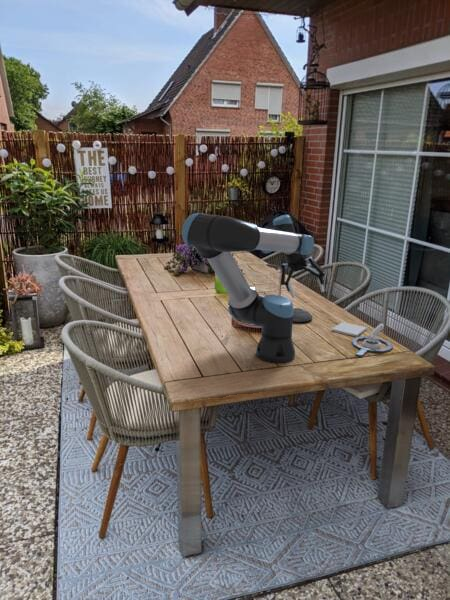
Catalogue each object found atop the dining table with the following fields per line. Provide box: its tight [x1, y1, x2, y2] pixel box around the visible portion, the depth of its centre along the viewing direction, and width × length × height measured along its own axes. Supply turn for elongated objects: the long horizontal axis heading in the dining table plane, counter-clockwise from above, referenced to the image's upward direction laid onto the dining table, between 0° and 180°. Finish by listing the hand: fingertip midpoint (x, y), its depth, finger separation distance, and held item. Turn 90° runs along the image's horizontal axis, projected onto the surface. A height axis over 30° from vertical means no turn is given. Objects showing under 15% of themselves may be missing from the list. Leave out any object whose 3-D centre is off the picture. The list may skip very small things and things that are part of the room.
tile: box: [331, 321, 368, 338], centre depth 203 cm, size 12×12×1 cm
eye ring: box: [351, 335, 394, 358], centre depth 184 cm, size 23×16×1 cm
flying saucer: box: [293, 307, 313, 323], centre depth 218 cm, size 15×15×6 cm
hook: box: [361, 323, 385, 349], centre depth 186 cm, size 8×12×7 cm
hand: (308, 293), depth 196 cm, fingers open, 13 cm apart
